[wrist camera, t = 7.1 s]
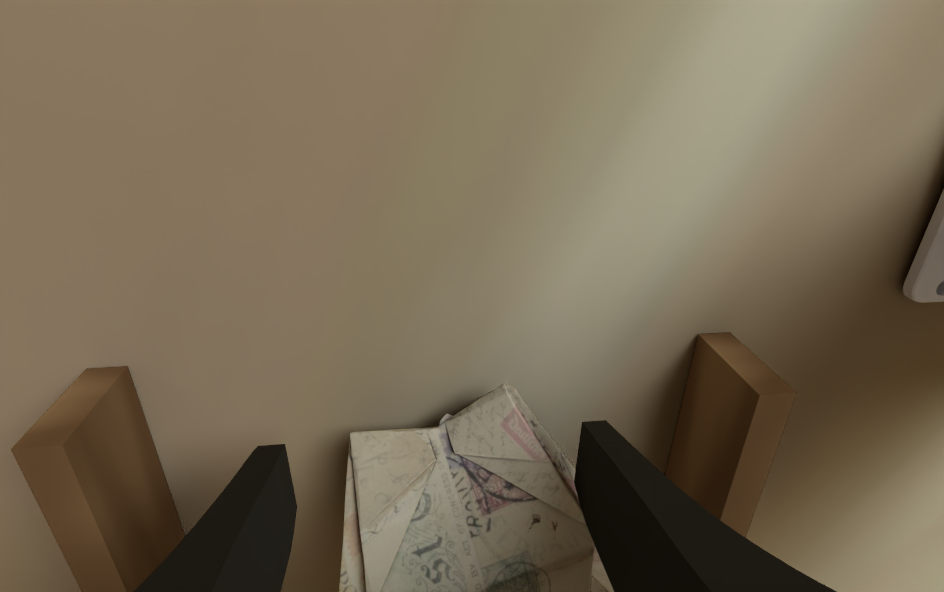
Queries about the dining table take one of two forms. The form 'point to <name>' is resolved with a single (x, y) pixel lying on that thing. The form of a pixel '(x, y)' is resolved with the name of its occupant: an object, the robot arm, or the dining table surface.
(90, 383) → the walnut u-shaped block
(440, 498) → the origami crane
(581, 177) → the dining table surface
